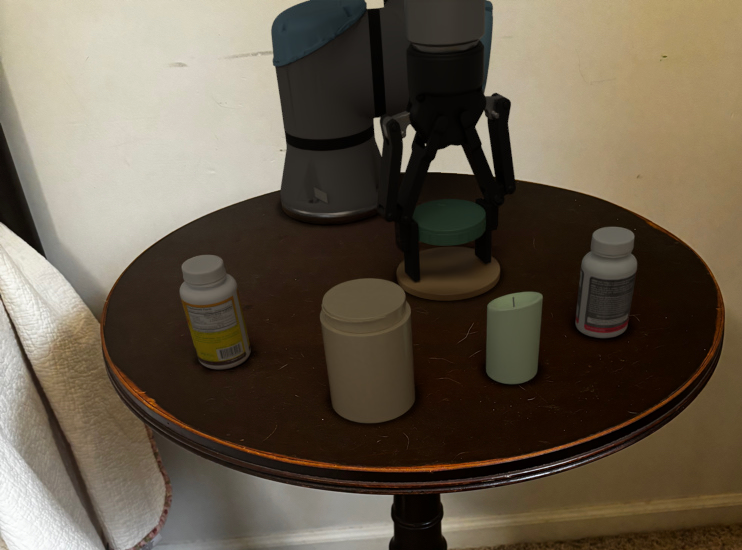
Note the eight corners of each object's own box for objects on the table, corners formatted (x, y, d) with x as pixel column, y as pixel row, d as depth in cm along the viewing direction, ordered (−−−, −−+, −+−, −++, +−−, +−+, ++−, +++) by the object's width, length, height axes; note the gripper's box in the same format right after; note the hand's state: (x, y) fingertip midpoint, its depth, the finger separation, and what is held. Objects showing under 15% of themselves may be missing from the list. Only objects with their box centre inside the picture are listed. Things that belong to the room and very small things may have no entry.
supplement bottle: (216, 339, 85) (193, 247, 78) (261, 347, 84) (242, 254, 76) (187, 367, 82) (161, 272, 74) (234, 376, 80) (211, 280, 73)
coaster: (381, 266, 95) (380, 260, 95) (471, 244, 98) (471, 238, 98) (422, 310, 87) (422, 304, 87) (518, 285, 90) (519, 278, 90)
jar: (320, 388, 78) (305, 288, 70) (395, 367, 80) (388, 268, 72) (348, 432, 72) (336, 330, 65) (429, 408, 74) (425, 306, 67)
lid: (499, 235, 87) (499, 220, 86) (428, 252, 85) (428, 237, 84) (465, 207, 93) (465, 193, 92) (397, 223, 91) (397, 208, 90)
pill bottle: (638, 328, 82) (654, 236, 76) (599, 345, 81) (612, 252, 74) (601, 308, 86) (613, 218, 79) (563, 324, 84) (572, 233, 77)
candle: (475, 369, 79) (476, 291, 73) (513, 351, 81) (517, 274, 75) (508, 391, 76) (512, 312, 70) (547, 372, 78) (554, 294, 72)
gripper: (522, 17, 81) (512, 235, 97) (328, 50, 76) (351, 274, 92) (561, 32, 76) (544, 259, 92) (356, 69, 71) (375, 303, 87)
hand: (448, 267), depth 92 cm, fingers closed on lid, 8 cm apart
